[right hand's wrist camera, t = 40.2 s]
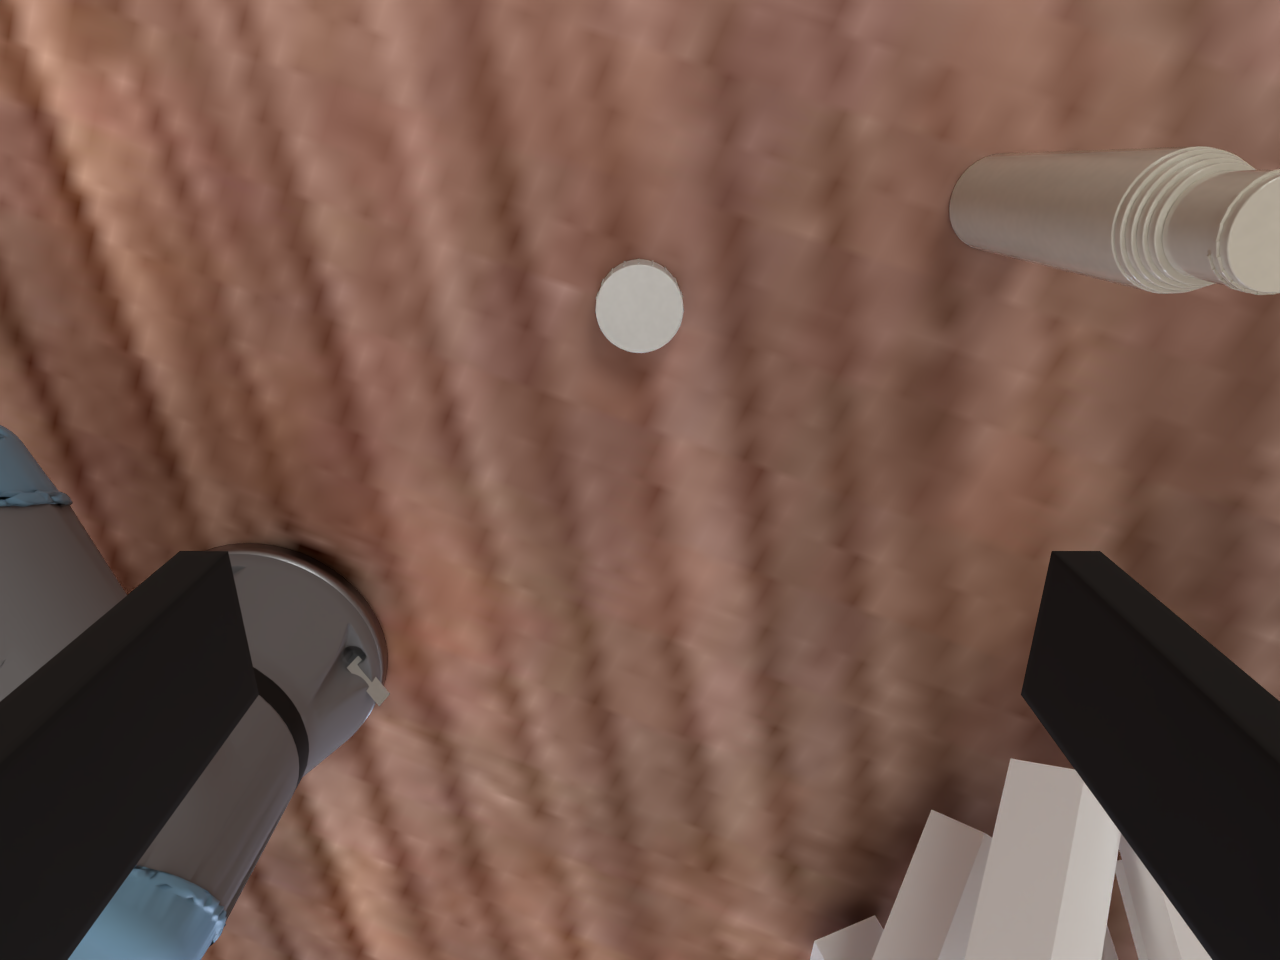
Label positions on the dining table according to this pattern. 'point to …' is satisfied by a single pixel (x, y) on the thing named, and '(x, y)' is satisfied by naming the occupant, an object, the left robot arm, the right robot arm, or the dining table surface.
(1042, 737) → the dining table surface
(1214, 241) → the bottle
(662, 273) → the cap
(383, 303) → the dining table surface
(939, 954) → the pile of blocks
